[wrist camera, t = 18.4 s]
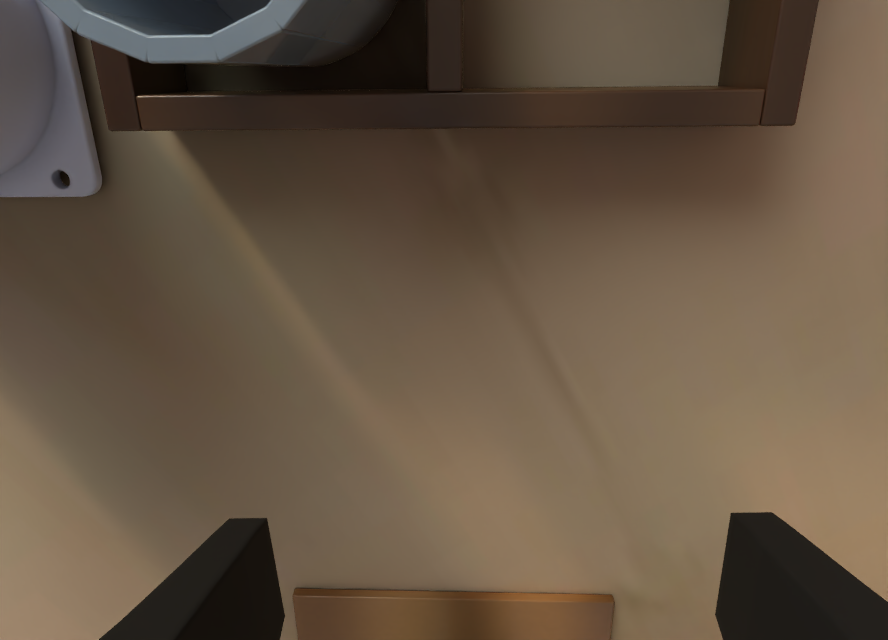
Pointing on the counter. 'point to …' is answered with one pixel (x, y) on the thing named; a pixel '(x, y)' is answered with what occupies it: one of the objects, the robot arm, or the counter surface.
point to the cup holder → (450, 106)
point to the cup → (228, 29)
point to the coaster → (450, 615)
